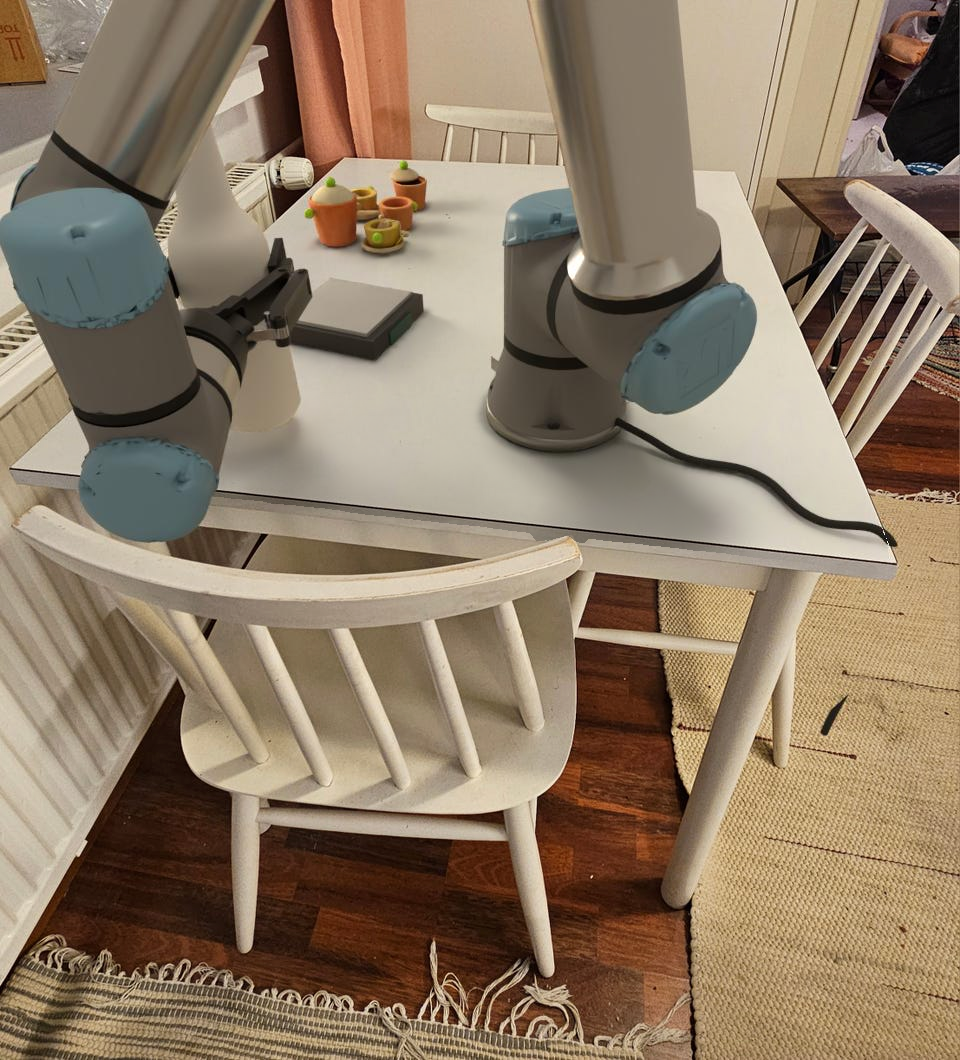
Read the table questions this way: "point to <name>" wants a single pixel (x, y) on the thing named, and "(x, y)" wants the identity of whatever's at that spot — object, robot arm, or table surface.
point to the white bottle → (229, 280)
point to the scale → (356, 318)
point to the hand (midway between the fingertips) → (232, 254)
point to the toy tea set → (368, 211)
